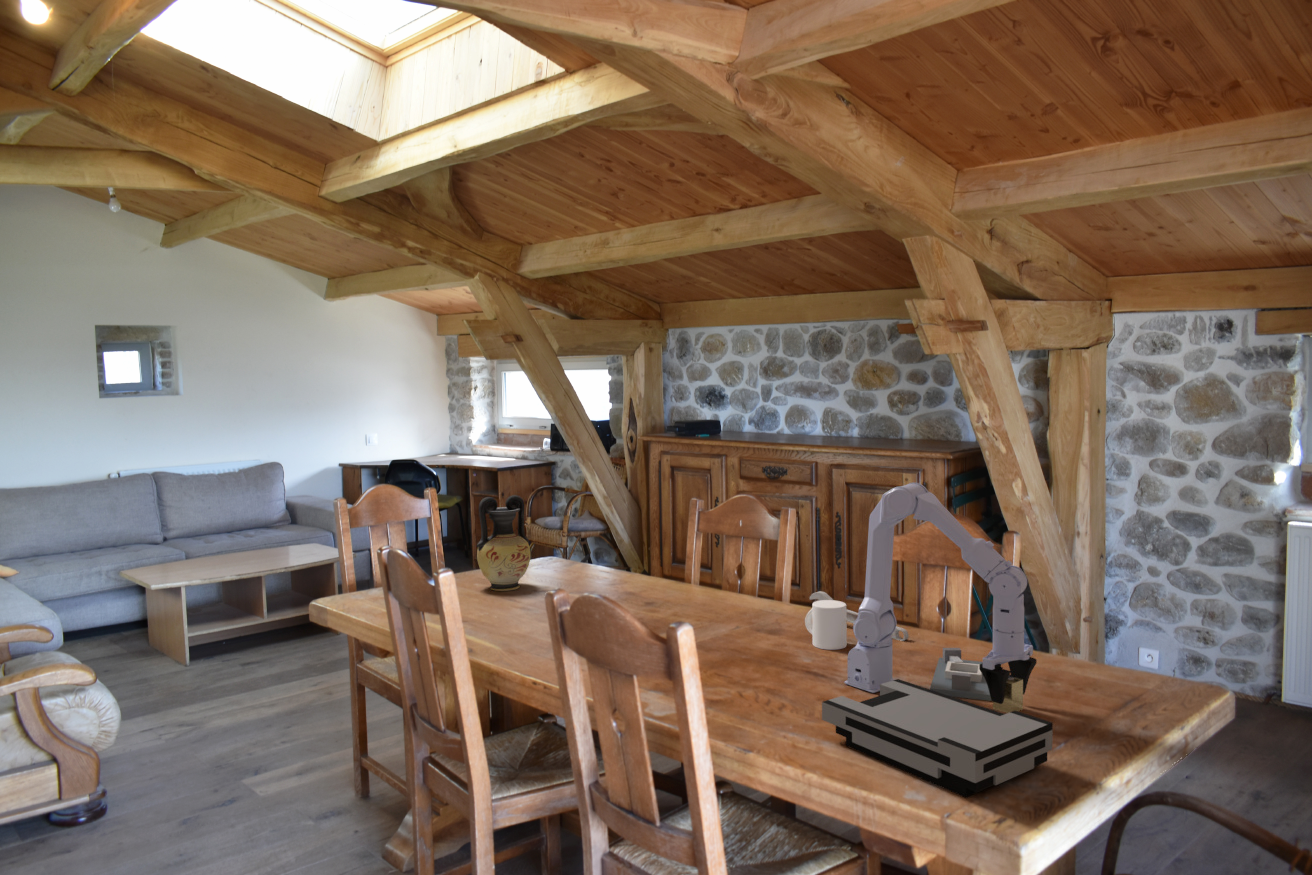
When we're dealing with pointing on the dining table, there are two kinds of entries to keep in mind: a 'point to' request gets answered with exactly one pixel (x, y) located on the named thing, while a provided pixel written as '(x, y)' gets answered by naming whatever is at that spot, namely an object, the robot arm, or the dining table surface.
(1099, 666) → the dining table surface
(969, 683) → the base
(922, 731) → the game console
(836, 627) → the mug
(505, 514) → the amphora
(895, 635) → the wrench
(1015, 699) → the block
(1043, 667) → the dining table surface
